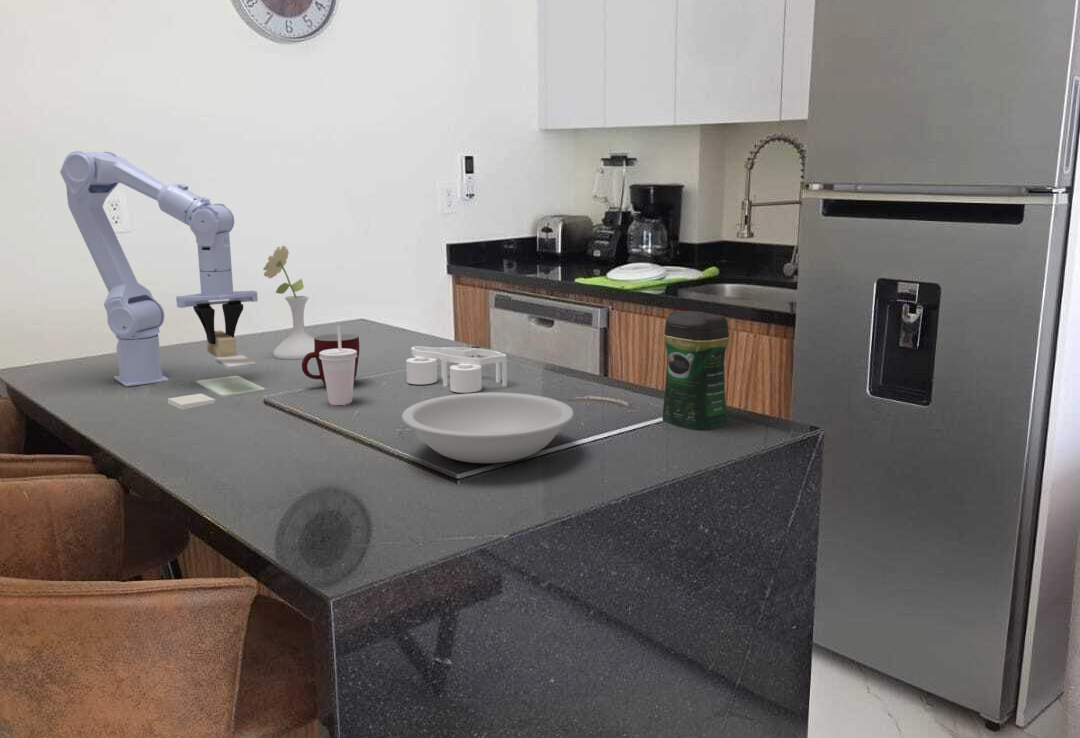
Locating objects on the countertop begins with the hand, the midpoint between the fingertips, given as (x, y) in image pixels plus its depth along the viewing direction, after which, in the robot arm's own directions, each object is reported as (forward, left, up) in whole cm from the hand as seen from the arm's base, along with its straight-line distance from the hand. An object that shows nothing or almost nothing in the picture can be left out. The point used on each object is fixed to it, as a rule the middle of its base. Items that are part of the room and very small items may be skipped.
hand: (221, 342), depth 177 cm
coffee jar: (+77, +48, -9) cm, 91 cm away
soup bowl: (+69, +14, -9) cm, 71 cm away
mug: (+17, +14, -9) cm, 24 cm away
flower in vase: (-14, +21, -9) cm, 26 cm away
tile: (+8, -10, -8) cm, 15 cm away
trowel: (0, 0, -2) cm, 2 cm away
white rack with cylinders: (+31, +33, -9) cm, 45 cm away
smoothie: (+29, +10, -9) cm, 32 cm away
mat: (+4, 0, -8) cm, 9 cm away
